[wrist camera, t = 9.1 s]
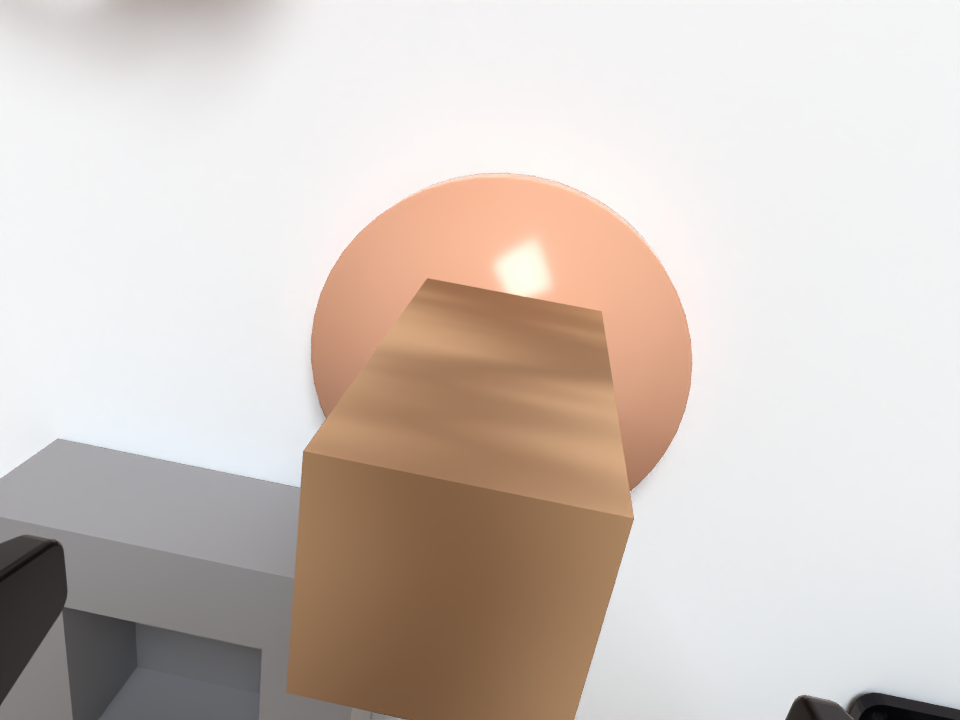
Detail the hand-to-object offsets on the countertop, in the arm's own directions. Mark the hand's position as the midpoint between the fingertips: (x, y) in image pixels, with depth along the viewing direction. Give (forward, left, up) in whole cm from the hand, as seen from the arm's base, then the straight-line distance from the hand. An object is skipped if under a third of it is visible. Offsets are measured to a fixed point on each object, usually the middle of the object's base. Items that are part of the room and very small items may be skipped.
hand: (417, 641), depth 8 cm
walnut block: (0, 0, -9) cm, 9 cm away
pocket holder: (+7, +10, -10) cm, 16 cm away
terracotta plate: (0, 0, -10) cm, 10 cm away
